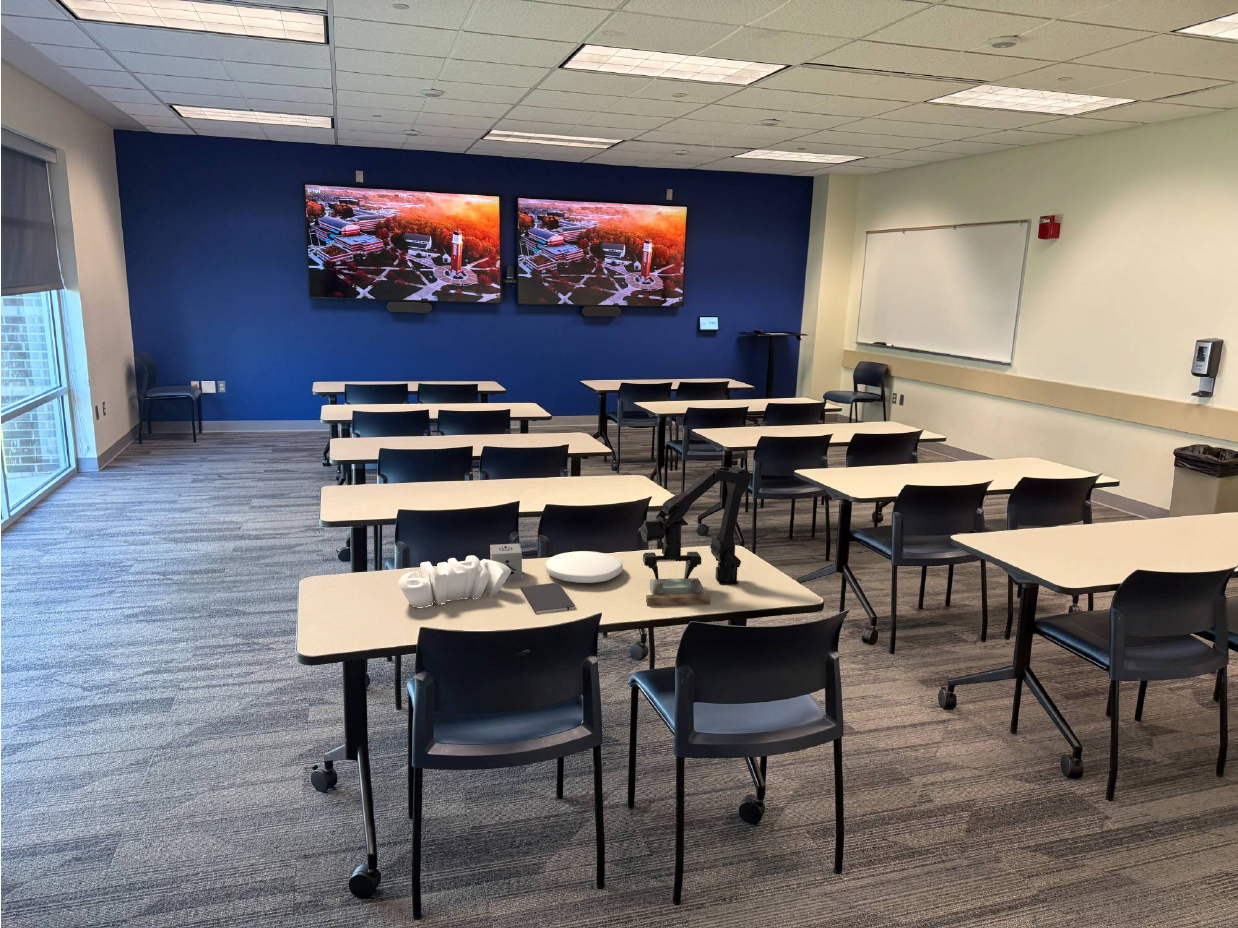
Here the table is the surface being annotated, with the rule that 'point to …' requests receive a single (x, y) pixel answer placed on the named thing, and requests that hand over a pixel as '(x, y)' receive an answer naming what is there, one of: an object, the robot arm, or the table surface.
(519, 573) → the icon cube
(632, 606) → the table surface
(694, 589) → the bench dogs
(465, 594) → the white wavy slab sculpture
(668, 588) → the painted plate block
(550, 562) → the plate
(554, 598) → the notebook
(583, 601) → the table surface
